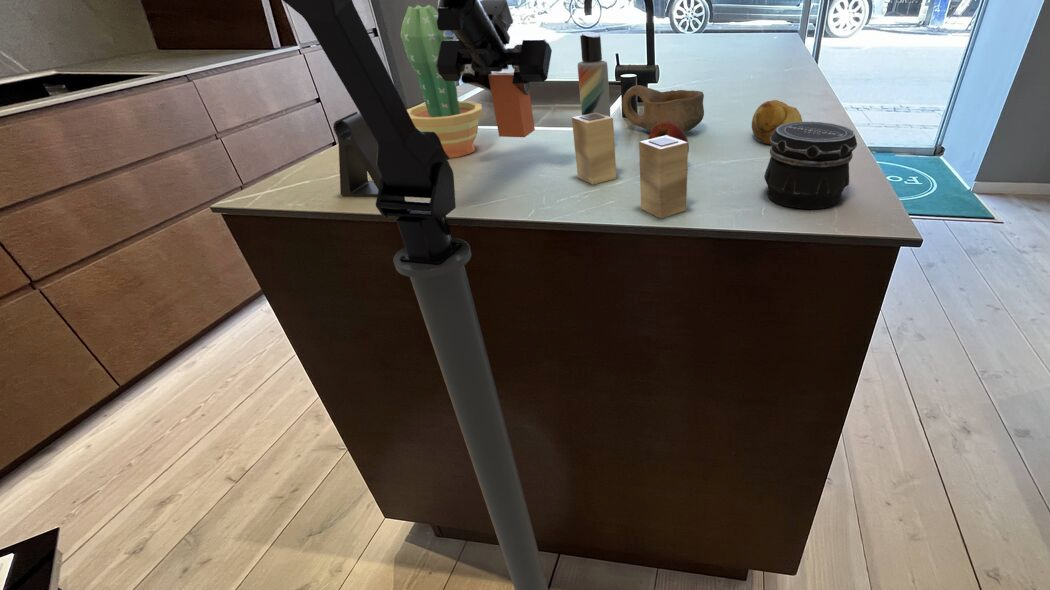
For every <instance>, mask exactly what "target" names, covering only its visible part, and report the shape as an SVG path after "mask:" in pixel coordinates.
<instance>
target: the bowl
mask: <svg viewBox="0 0 1050 590" xmlns="http://www.w3.org/2000/svg"><path fill="white" fill-rule="evenodd" d="M635 96H637V97H639V98H640V99H641V102H642V104H643V114H638V113H637V112H636V111H635V110H634V108H633V106H632V99H633V97H635ZM704 97H705V95H704V92H703V91H701V90H686V89H678V90H674V89H672V90H667V91H660V90H657V89H653V88H651V87H648V86H644V85H641V84H640V85H639V84H638V85H636V84H635V85H633V86H631V87H629V89H627V90H626V92H625V93H624V94H623V97H622V101H621V108H622V112H623V115H624V116H625V118H626V119H627V120H628V121H629V122H630V123H631V124H632V125H634V126H637V127H639V128H642V129H644V130H648V131H650V132H651V131H652V129H653V128H654V127H655V126H656V125H657V124H659V123H661V122H670V123H673V124H675V125H677V126H678V127H679V128H681V129H682V131H683V132H684V133H686V132H688V131H689V132H690V131H692V130H693V129H694V128H695V127H697V126H698V125H699V124H700V123H701V122H702V120H703V119H704V118H705V117H704V116H705V109H704Z"/></svg>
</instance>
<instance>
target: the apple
mask: <svg viewBox="0 0 1050 590" xmlns="http://www.w3.org/2000/svg"><path fill="white" fill-rule="evenodd" d="M665 135H667V136H670V137H673V138H676V139H679V140H682V141H685V142H688V152H689V149H690V146H689V140H688V137H687V135H686V134H685V132H683V131H682V129H681V128H679V127H678V126H677V125H675V124H673V123H670V122H661V123H659V124H657V125H656V126H655V127H654V128H653V129H652V131H650V133H649V134H648V137H647V140H648V139H653V138H657V137H661V136H665Z"/></svg>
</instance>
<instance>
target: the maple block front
mask: <svg viewBox="0 0 1050 590" xmlns="http://www.w3.org/2000/svg"><path fill="white" fill-rule="evenodd" d="M688 144H689V141H688V142H685V141H682V140H679V139H676V138H673V137H670V136H667V135H665V136H661V137H657V138H653V139H648V138H647V139H644V140H640V141H639V142H638V151H639V152H638V154H639V186H640V210H642V211H644V212H646V213H648V214H650V215H652V216H654V217H656V218H658V219H660V220H661V219H664V218H667V217H670V216H674V215H677V214H680V213H683V212H685V211H687V202H688V201H687V199H688V196H687V195H688V158H689V151H688Z"/></svg>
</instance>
